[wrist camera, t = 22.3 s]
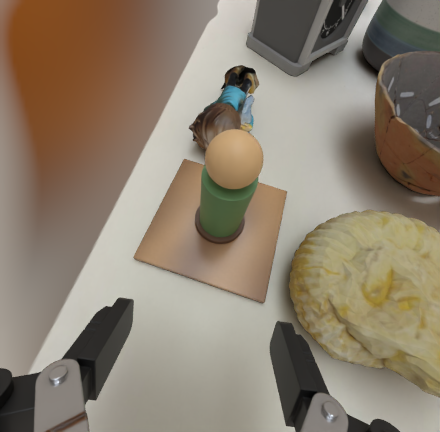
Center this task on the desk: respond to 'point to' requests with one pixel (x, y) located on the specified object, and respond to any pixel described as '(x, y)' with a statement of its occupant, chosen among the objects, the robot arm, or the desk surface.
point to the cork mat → (207, 251)
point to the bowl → (410, 120)
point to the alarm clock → (302, 30)
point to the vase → (402, 30)
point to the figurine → (228, 107)
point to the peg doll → (228, 185)
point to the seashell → (373, 293)
